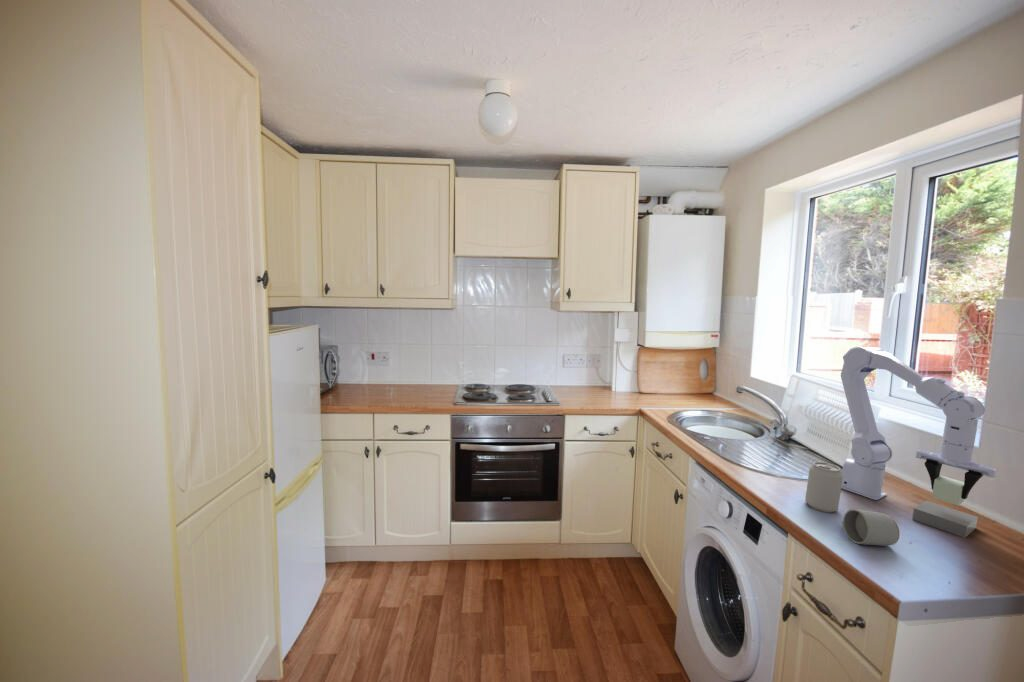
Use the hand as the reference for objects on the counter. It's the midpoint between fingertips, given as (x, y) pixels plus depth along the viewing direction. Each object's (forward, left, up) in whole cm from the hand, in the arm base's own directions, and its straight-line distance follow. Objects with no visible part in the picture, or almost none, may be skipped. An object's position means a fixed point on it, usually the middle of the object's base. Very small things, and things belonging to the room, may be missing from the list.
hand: (948, 493), depth 113 cm
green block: (0, 0, -2) cm, 2 cm away
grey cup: (-7, -30, -9) cm, 32 cm away
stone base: (0, 0, -8) cm, 8 cm away
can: (-20, -21, -8) cm, 30 cm away
